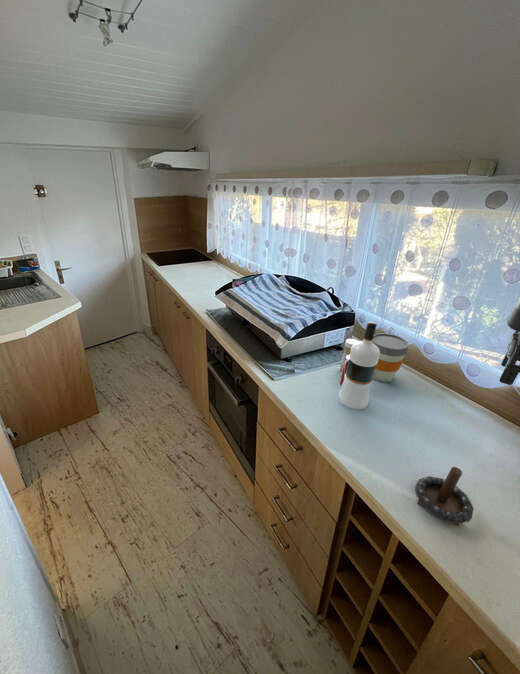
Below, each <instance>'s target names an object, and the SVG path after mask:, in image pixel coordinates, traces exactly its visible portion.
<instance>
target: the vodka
mask: <svg viewBox="0 0 520 674" xmlns="http://www.w3.org/2000/svg"><path fill="white" fill-rule="evenodd" d="M377 326H378V324H377V323H376V322H375V321H367V323H366V327H365V332H364V335H363V339H362V340H360V341H358V342H356V343H355V344H353V345H352V347H351V350H350V355H349V362H348V366H347V371H346V374H345V379H344V384H343V386H341V390H340V391H339V394H338V401H339V402H340V403H341V404H342V405H343V406H345V407H346V408H349V409H352V410H364V409H366V408H367V407H368V405H369V400H370V399H369V395H370V390H371V386H372V384H373V380H374V379H373V375H374V372H375V368H376V364H377V363H378V359H379V356H380V350H379V348H378V347H377V346H376V345H375V344H373V343H372V342H373V337H374V335H375V334H376V330H377Z"/></svg>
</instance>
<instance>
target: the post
mask: <svg viewBox="0 0 520 674" xmlns="http://www.w3.org/2000/svg"><path fill="white" fill-rule="evenodd" d="M462 475H463V471H462V470H461V469H460V468H458V467H457V466H452V467H451V468H450V470H449V472H448V473H447V475H446V478H445V479H444V480H445V481H444V483H443V485H442V487H438V486H433V485H432V486H429V487H427V488H426V494H427V496H428V498H429V499H430V500H431V501H432V502H433V503H434V504H435V505H436V506H438V507H439V508H441V509H443V510H445V511H448V512H453V513H457V512H460V511H461V508H462V506H461V504H460V502H459V500H458V499H457V498H456V497H455V496H454V495H453V494H452V491H453V490H454V488H455V486H457V484H458V482H459V480H460V479H461V477H462ZM417 504H418V505H419V506H421V507H423V508H425V507H424V505H423V504H422V503H421V502H420V501H419V499H418V500H417ZM452 524H454V525H455V526H457V527H459V525H460V524H457V523H452Z"/></svg>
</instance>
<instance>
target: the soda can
mask: <svg viewBox="0 0 520 674" xmlns="http://www.w3.org/2000/svg"><path fill="white" fill-rule="evenodd" d="M348 362H349V355H347V357H346V358H345V361H344V365H343V370H342V372H341V375H340V379H339V386H341V387H343V384H344V379H345V374H346V371H347V366H348Z"/></svg>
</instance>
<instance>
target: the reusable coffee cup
mask: <svg viewBox="0 0 520 674" xmlns="http://www.w3.org/2000/svg"><path fill="white" fill-rule="evenodd" d="M372 343H373V344H375V345H376V346H377V347H378V348H379V350H380V356H379V359H378V363H377V364H376V368H375V372H374V375H373V378H374V379H373V380H375V379H376V380H375V381H378V380H380V381H379V382H382V381H389V382H391V381H393V379H394V377H395V375H396V373H397V372H398V371H399V370H400V368H401V366H402V364H403V362H404V360H405V356H406V355H407V354H408V350H409V342H408V341H407V340H406V339H405V338H403V337H401V336H399V335H395V334H393V333H383V332H382V333H375V334H374V337H373V342H372Z"/></svg>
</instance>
